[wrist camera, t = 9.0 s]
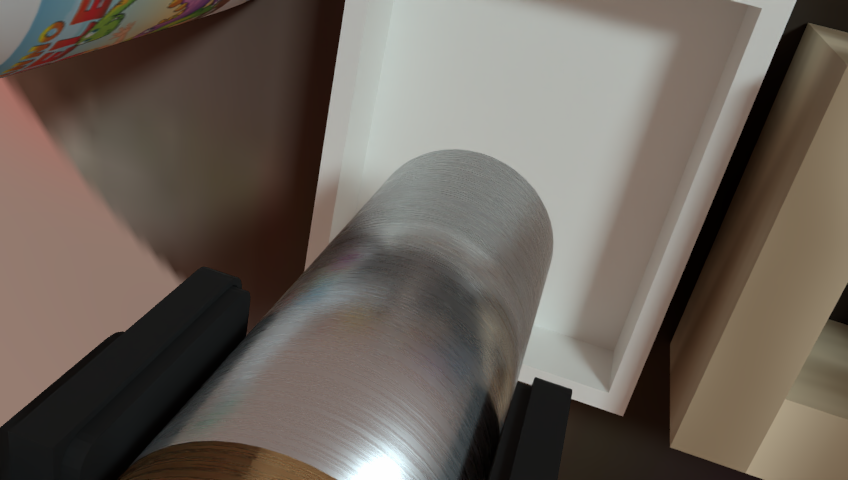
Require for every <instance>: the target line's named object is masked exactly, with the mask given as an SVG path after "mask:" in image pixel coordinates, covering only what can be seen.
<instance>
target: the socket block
mask: <svg viewBox="0 0 848 480" xmlns="http://www.w3.org/2000/svg"><path fill="white" fill-rule="evenodd" d="M847 283H848V33H847V32H843V31H839V30H835V29H831V28H827V27H823V26H819V25H815V24H811V23H808V24H807V26H806V29H805V31H804V33H803V36H802V38H801V40H800V43H799V45H798V47H797V50H796V52H795V54H794V57H793V59H792V61H791V64H790V66H789V68H788V71H787V73H786V75H785V78H784V80H783V82H782V85H781V87H780V89H779V92H778V94H777V96H776V99H775V101H774V103H773V106H772V108H771V110H770V112H769V115H768V117H767V119H766V122H765V124H764V126H763V129H762V131H761V133H760V136H759V138H758V140H757V143H756V145H755V147H754V150H753V152H752V154H751V157H750V159H749V161H748V164H747V166H746V168H745V171H744V173H743V175H742V178H741V180H740V182H739V185H738V187H737V189H736V192H735V194H734V196H733V199H732V201H731V203H730V206H729V208H728V210H727V213H726V215H725V217H724V220H723V222H722V224H721V227H720V229H719V231H718V234H717V236H716V238H715V241H714V243H713V245H712V248H711V250H710V252H709V254H708V257H707V259H706V261H705V264H704V266H703V268H702V271H701V273H700V275H699V278H698V280H697V282H696V285H695V287H694V289H693V292H692V294H691V296H690V299H689V301H688V303H687V306H686V308H685V310H684V313H683V315H682V317H681V320H680V322H679V324H678V327H677V329H676V331H675V334H674V336H673V338H672V341H671V343H670V447H671V448H674V449H677V450H679V451H682V452H685V453H688V454H691V455H694V456H697V457H700V458H703V459H706V460H709V461H711V462H714V463H717V464H720V465H723V466H726V467H729V468H732V469H735V470H738V471H740V472H743V473H746V474H749V475H752V476H755V477H758V478H761V479H764V480H848V325H846V324H843V323H840V322H836V321H833V320H830V319H828V318H829V316H830V315H831V313H832V311H833V309H834V307H835V305H836V303H837V301H838V300H839V298H840V296H841V294H842V292H843V290H844V288H845V287H846V285H847Z"/></svg>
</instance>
